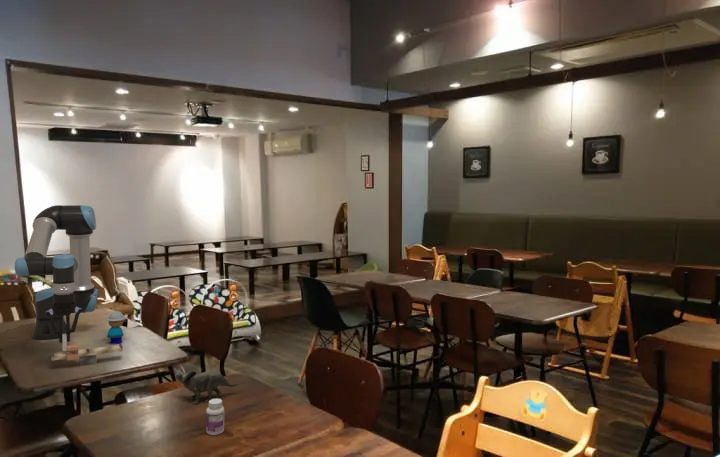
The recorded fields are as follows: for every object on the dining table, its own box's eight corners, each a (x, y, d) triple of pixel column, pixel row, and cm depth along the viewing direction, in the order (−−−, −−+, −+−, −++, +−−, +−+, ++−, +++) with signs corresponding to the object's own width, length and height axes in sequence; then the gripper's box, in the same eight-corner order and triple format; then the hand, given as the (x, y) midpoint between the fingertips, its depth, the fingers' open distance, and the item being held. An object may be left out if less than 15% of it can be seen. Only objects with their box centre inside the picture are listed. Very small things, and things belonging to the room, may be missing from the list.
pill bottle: (208, 427, 159) (208, 397, 159) (225, 427, 160) (225, 397, 159) (204, 435, 154) (204, 404, 153) (222, 435, 154) (222, 404, 154)
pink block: (67, 360, 206) (67, 348, 206) (66, 355, 212) (66, 343, 212) (78, 358, 208) (78, 346, 208) (77, 353, 214) (77, 342, 214)
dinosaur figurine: (238, 393, 186) (238, 363, 186) (237, 403, 178) (237, 371, 177) (175, 396, 183) (175, 365, 182) (170, 405, 174) (170, 373, 174)
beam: (51, 370, 205) (51, 355, 204) (51, 366, 209) (51, 352, 208) (122, 360, 218) (122, 346, 218) (121, 357, 222) (121, 343, 222)
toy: (130, 341, 245) (130, 310, 244) (114, 346, 237) (114, 314, 236) (117, 338, 249) (117, 308, 248) (102, 343, 241) (101, 312, 240)
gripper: (44, 295, 200) (45, 354, 202) (82, 293, 207) (83, 350, 209) (45, 292, 207) (46, 349, 209) (81, 290, 214) (82, 345, 215)
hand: (64, 349), depth 209 cm, fingers closed
